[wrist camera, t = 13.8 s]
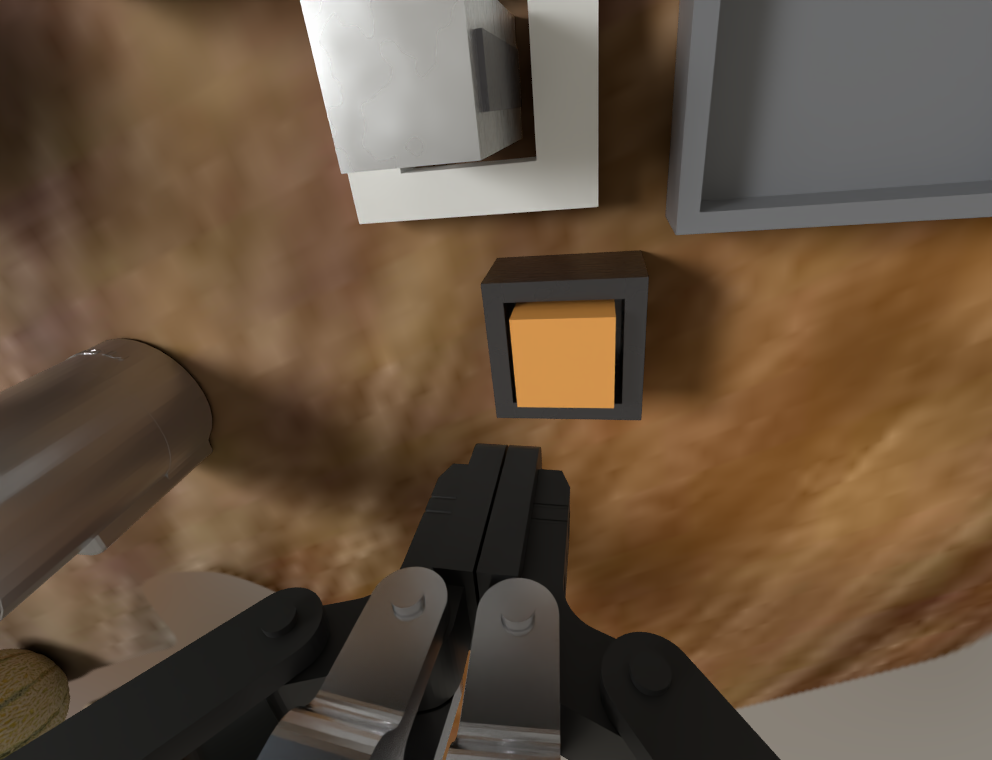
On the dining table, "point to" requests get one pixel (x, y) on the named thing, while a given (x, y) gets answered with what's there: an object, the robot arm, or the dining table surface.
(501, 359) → the button housing
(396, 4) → the block
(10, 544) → the robot arm
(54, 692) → the cantaloupe
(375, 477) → the dining table surface
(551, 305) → the button
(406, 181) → the white slotted plate
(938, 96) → the tray
